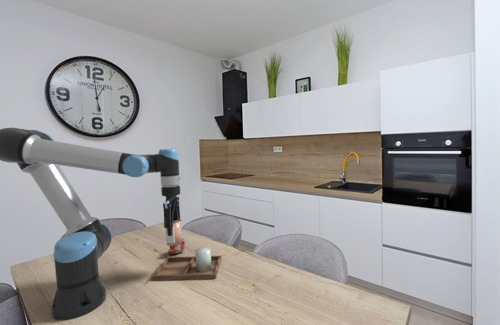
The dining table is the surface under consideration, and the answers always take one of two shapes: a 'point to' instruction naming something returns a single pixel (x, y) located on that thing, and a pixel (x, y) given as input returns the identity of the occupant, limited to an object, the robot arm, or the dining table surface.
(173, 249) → the flower
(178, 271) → the wooden divided tray
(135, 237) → the dining table surface
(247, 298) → the dining table surface
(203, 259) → the pale green rounded cylinder
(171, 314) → the dining table surface
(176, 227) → the pink cylinder
